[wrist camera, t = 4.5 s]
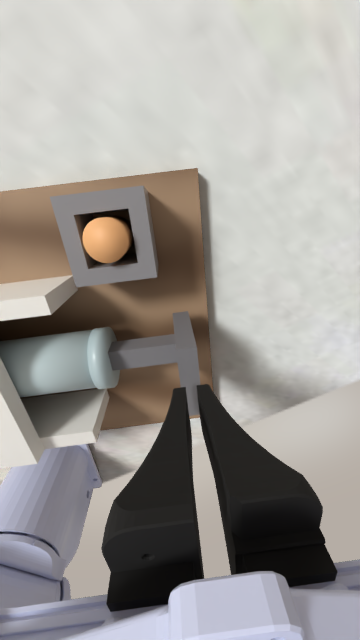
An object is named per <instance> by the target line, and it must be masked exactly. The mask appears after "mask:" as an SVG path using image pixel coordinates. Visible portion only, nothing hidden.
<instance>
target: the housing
mask: <svg viewBox="0 0 360 640" xmlns="http://www.w3.org/2000/svg"><path fill="white" fill-rule="evenodd" d="M50 200H51V204H52V207H53V211H54V214H55V217H56V221H57V224H58V228H59V231H60V234H61V238H62V241H63V245H64V248H65V251H66V255H67V258H68V262H69V265H70V268H71V272H72V275H70V276H62V277H54V278H46V279H38V280H29V281H21V282H13V283H5V284H0V321H5V320H13V319H21V318H29V317H37V316H45V315H51V314H53V313H54V312H55V311H56V310H57V309H58V308H59V307H60V306H61V305H62V304H63V303H64V302H66V301H67V300H68V299H69V298H70V297H71V296H72V295H73V294H74V293H75V292H76V291H78V289H77V287H84V286H92V285H100V284H108V283H116V282H124V281H132V280H140V279H148V278H156V277H157V274H158V258H157V251H156V244H155V238H154V231H153V224H152V217H151V210H150V203H149V197H148V191H147V190H146V188H145V187H144V186H135V187H127V188H118V189H110V190H102V191H93V192H85V193H77V194H68V195H60V196H52V197H50ZM123 210H129V215H130V221H131V226H132V232H133V238H134V243H135V249H136V254H130V255H123V256H122V257H121V258H120V259H119V260H118V261H116V262H113V263H102V262H99V261H97V260H95V259H93V258H92V257H91V256H90V255H89V254H88V253H87V251H86V249H85V247H84V245H83V231H84V229H85V227H86V225H87V224H88V223H89V222H90V221H92V220H94V217H93V214H99V213H107V212H115V211H123ZM108 401H109V395H108V391H107V389H93V390H86V391H78V392H70V393H62V394H55V395H47V396H39V397H31V398H23V399H20V397H19V395H18V393H17V391H16V389H15V387H14V384H13V382H12V380H11V378H10V376H9V374H8V372H7V370H6V368H5V366H4V364H3V362H2V360H1V358H0V469H2V468H9V467H17V466H25V465H32V464H38V462H39V460H40V458H41V456H42V454H43V452H44V450H45V449H50V448H58V447H66V446H73V445H81V444H88V443H96V442H97V439H98V435H99V432H100V428H101V425H102V421H103V418H104V415H105V411H106V408H107V404H108Z"/></svg>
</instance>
